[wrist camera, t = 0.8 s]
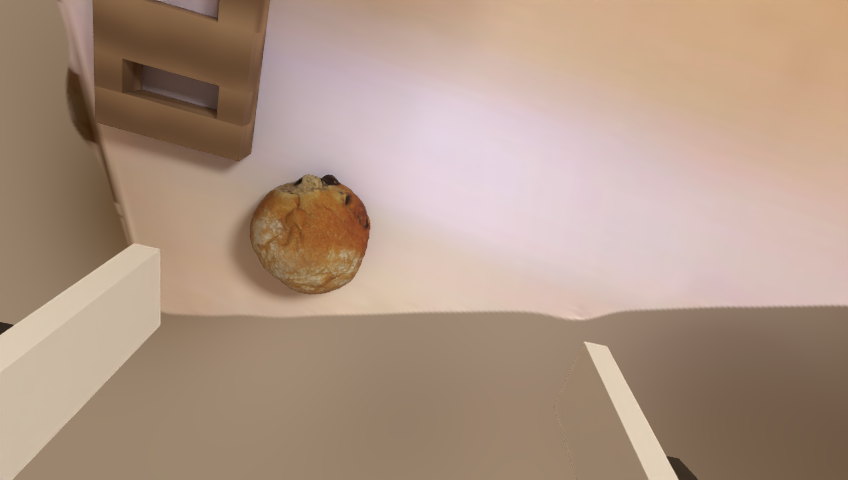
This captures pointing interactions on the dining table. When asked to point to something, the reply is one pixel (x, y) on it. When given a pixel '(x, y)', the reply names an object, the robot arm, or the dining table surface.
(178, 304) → the dining table surface
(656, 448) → the robot arm
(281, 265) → the bread roll
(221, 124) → the socket block
